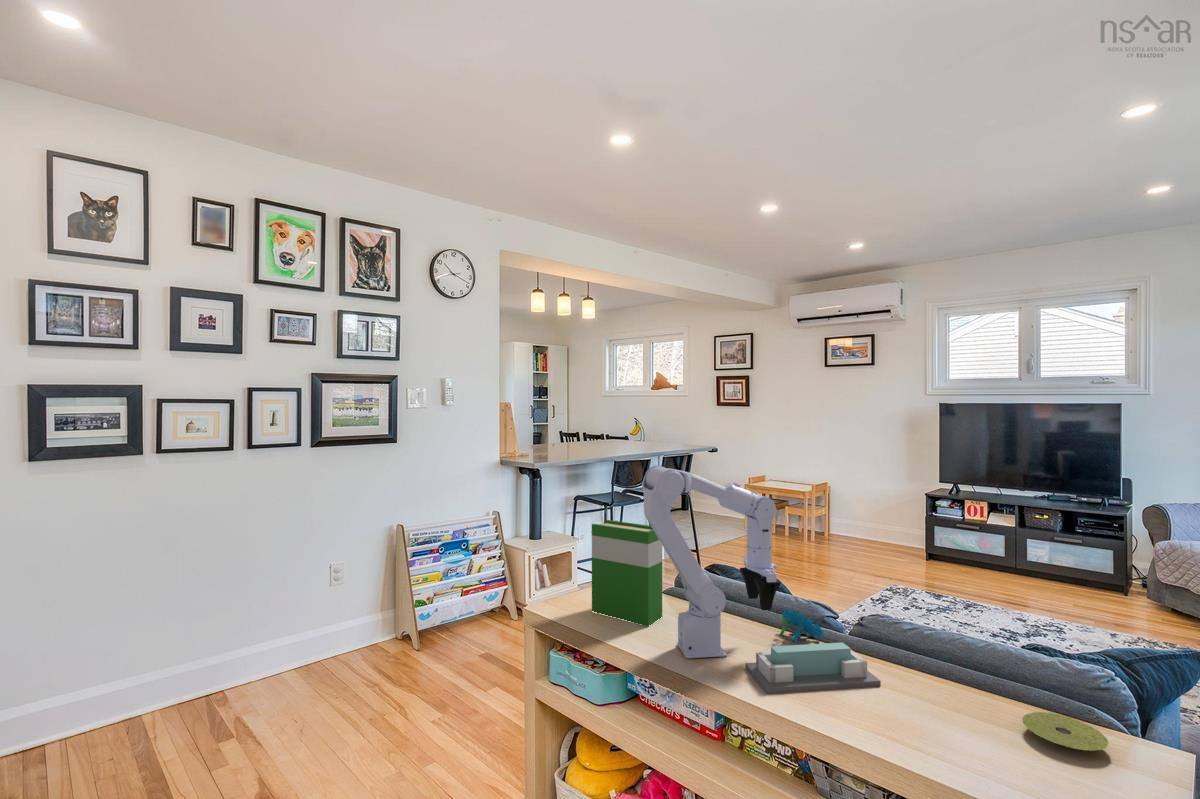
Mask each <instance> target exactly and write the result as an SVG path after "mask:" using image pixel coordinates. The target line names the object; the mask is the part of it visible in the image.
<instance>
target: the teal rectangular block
mask: <svg viewBox="0 0 1200 799" xmlns="http://www.w3.org/2000/svg"><path fill="white" fill-rule="evenodd" d="M851 650H852V648H851V647H849V646H848V645H847V644H845V643H844V642H829V643H812V644H795V645H794V644H793V645H773V646H771V645H770V652H771V663H772V664H773V665H777V664H791V665H792V666H793V676H807V675H823V674H839V673H842V661H843V660H851Z"/></svg>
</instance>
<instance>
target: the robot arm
mask: <svg viewBox="0 0 1200 799" xmlns="http://www.w3.org/2000/svg"><path fill="white" fill-rule="evenodd" d="M741 486H742V485H741V484H740V483H738V482H737V483H736V482H732V483H726V484H723V485H720V484H718V483H715V482H713V481H711V480H708V479H706V478H704V477H702V476H699V475H696V474H695V473H691V472H689V471H685V470H679V469H674V468H671V467H668V468H666V467H665V466H662V465H656V464H655V465H653V466H651V467H649V468H648V469H647V470H646V471H645V474H644V476H643V480H642V482H641V487H642V491H643V515H644V517H645V518H646V520H647V521H648V524H649V526H651V527H652V528H653V530H654V532H655V533H656V535H657V537H658V539H659V540H660V542H661V544H662V548H663V549H664V550H665V552H666V554H667V555H668V557H669V559H670V561H671V562H672V563H673V565H674V567H675V569H676V570H677V572H678V574H679V576H680V578H681V580H680V582H681V584H682V585H683V591H684V597H685V598H686V600H687V601H688V603H689V604H688V609H687V610H686V611H681V612H679V613H678V618H677V638H678V639H677V644H676V645H677V646H678V647H679V649H680V651H681V653H683V656H684V657H685V658H686V659H701V658H715V657H716V658H718V657H719V658H720V657H721V658H722V657H727V656H728V654H727V652H726V651H725V649H724V648H723V647H722V645H721V643H722V642H721V638H722V637H721V634H722V633H721V630H722V629H721V628H722V627H721V626H722V624H721V621H722V619H721V617H722V615H721V613H722V612H723V611H724V609H725V607H726V603H727V599H726V595H725V593H724V592H723V591H722V589H720V588H718V587H717V586H716V585H715V583H714V582H713V581H712V580H711V578H710V577H709V576H708V575H707V573H705V572H704V569H702V567H701V565H700V564H699V562H698V560H697V559H696V557H695V555H694V552H692V550H691V548H690V547H689V545H688V543H687V542H686V539H685V537H684V536H683V534H682V533H681V531H680V529H679V528H678V526H677V525H676V523H675V521H674V519H673V517H672V516H671V514H670V513H671V510H672V507H673V506H674V504H675V503H676V502H677V500H678V499H679V497H680V496H681V494H683V493H684V494H685V493H689V492H691V491H696V492H698V493H701V494H704V495H707V496H709V497H712V498H715V499H717V501H718V503H719V505H720V506H721V508H722V507H723V508H725V509H728V510H731V511H733V512H734V513H738V514H740V515H744V516H745V517H746V556H744V557H743V565H744V567H740V568H739V571H740V574H741V575H742V578H743V581H744V584H745V589H746V593H747V598H748V599H749V600H755V599H758V598H759V605H760V609H761V610H762V611H771V610H772V608H773V602H774V599H775V595H776V593H777V591H778V589H779V587H780V586H781V583H782V582H781V580H779V578H778V579H777V573H776V572H775V570H774V569H777V564H775V563H773V559H772V558H773V543H772V542H773V528H772V527H773V522H774V519H775V518H776V517H777V514H778V508H776V505H775V502H774V501H773V500H772V498H770V497H766V496H763V495H760V494H758V492H757V491H756V490H753V489H752V490H748V489H745V488H742V487H741Z"/></svg>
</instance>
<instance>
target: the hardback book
mask: <svg viewBox="0 0 1200 799" xmlns="http://www.w3.org/2000/svg"><path fill="white" fill-rule="evenodd" d="M592 611H594V612H597V613H601V614H605V615H608V616H612V617H616V618H620V619H624V620H627V621H631V622H634V623H638V624H642V625H646V626H649V625H651V624H652V625H654V624H655V623H656V622H655V621H657V620H658V619H660V618H661V617H662V618H663V545H662V544H661V542H660V540H659V539H658V537H657V535H656V533H655V532H654V530H653V528H652V527H651V525H650V524H649V525H647V524H641V523H640V524H639V523H634V522H625V521H618V520H610V519H605V520H604V523H602V524H600V523H591V612H592ZM660 620H661V619H660ZM654 622H655V623H654ZM657 622H658V621H657ZM634 623H633V624H634ZM653 623H654V624H653ZM638 624H637V625H638ZM642 625H641V626H642ZM652 625H651V626H652ZM646 626H645V627H646ZM649 627H650V626H649Z"/></svg>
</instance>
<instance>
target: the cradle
mask: <svg viewBox="0 0 1200 799" xmlns="http://www.w3.org/2000/svg"><path fill="white" fill-rule="evenodd" d="M744 668H745V670H746V671H747V672H748V673H749V674H750V676H752V677H753V679H754V680H755V681H756V682H757V683H758V685H759V686H760V687H761V689H762V690H763V691H764V692H765V693H766V694H778V693H791V692H792V693H794V692H806V691H807V692H809V691H823V690H822V689H826V690H837V689H836V688H840V689H854V688H855V689H856V688H867V687H880V686H881V684H882V682H881V680H880V679H879V678H877V676H876V675H874V673H871V672H870V671H869V670H868V661H867V660H866V659H864V658H863V657H861V656H860V655H859V654H857V653H856V652H855V651H854V650H852V649H851V660H843V661H842V673H839V674H823V675H807V676H793V666H792V665H791V664H777V665H773V664H772V663H771V651H764V652H756V653H755V662H746V663H745V667H744Z"/></svg>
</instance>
